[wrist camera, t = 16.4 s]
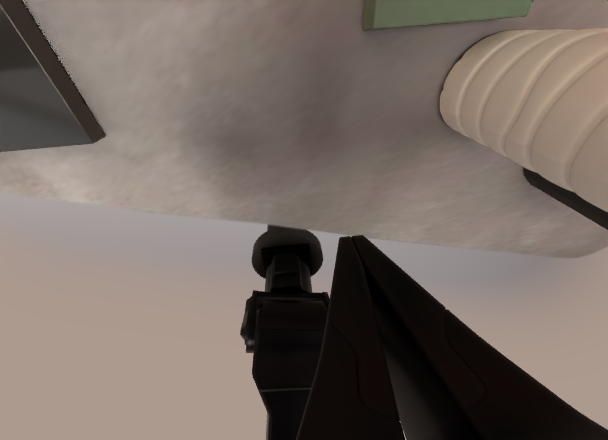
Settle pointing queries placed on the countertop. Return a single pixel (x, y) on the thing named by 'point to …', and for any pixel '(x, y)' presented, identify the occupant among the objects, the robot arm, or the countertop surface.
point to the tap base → (37, 90)
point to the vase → (568, 198)
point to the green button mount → (438, 11)
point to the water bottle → (538, 104)
